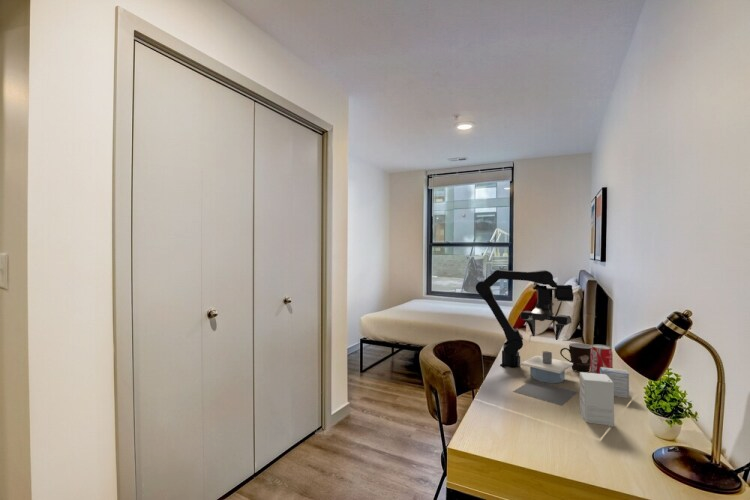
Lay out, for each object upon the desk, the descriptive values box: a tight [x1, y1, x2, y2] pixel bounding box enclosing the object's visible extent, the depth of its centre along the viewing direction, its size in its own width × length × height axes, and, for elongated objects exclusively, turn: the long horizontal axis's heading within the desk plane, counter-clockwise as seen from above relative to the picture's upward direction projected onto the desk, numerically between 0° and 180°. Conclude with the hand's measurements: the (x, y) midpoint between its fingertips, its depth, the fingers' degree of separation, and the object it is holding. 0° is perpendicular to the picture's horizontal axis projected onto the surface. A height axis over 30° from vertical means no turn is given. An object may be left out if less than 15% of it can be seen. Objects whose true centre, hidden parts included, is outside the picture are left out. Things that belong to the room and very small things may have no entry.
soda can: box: [589, 343, 614, 374], centre depth 138 cm, size 7×7×13 cm
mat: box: [512, 379, 579, 407], centre depth 125 cm, size 16×16×1 cm
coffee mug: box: [559, 342, 592, 373], centre depth 151 cm, size 12×9×10 cm
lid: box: [520, 351, 573, 374], centre depth 139 cm, size 14×14×5 cm
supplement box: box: [579, 372, 615, 428], centre depth 105 cm, size 7×7×13 cm
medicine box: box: [600, 367, 630, 399], centre depth 124 cm, size 8×4×9 cm, turn 65°
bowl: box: [529, 367, 566, 384], centre depth 139 cm, size 11×11×6 cm
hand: (544, 338), depth 151 cm, fingers open, 9 cm apart
